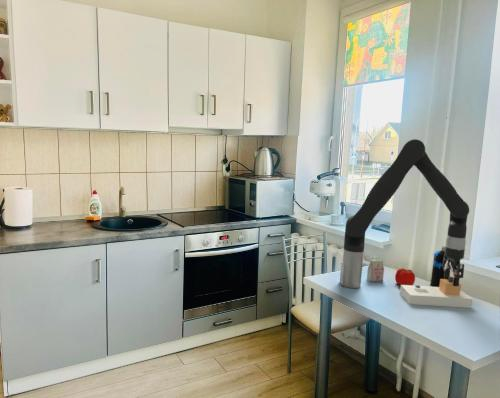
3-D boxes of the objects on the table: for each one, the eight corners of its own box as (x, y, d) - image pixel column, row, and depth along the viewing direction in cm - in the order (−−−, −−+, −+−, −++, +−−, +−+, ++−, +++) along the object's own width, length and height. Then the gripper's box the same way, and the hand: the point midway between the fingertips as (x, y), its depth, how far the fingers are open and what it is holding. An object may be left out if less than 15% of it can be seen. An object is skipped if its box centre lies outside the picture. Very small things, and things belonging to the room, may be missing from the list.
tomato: (416, 288, 186) (418, 273, 185) (398, 287, 186) (399, 272, 185) (409, 281, 195) (411, 267, 194) (391, 280, 196) (393, 266, 194)
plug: (444, 298, 170) (446, 279, 168) (438, 293, 175) (440, 274, 174) (458, 299, 170) (461, 279, 168) (452, 294, 175) (455, 275, 174)
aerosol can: (444, 284, 194) (449, 245, 191) (451, 290, 186) (456, 249, 183) (427, 282, 195) (432, 243, 192) (433, 289, 187) (438, 248, 184)
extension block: (409, 303, 167) (410, 293, 167) (399, 293, 179) (400, 283, 179) (471, 307, 167) (472, 297, 166) (457, 296, 178) (458, 287, 178)
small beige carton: (366, 279, 196) (368, 259, 194) (378, 278, 198) (380, 259, 196) (371, 281, 192) (373, 262, 191) (382, 280, 195) (384, 261, 193)
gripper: (439, 241, 176) (435, 276, 179) (454, 250, 162) (449, 288, 165) (456, 242, 176) (451, 277, 178) (472, 251, 162) (467, 288, 164)
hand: (450, 282), depth 171 cm, fingers open, 8 cm apart
